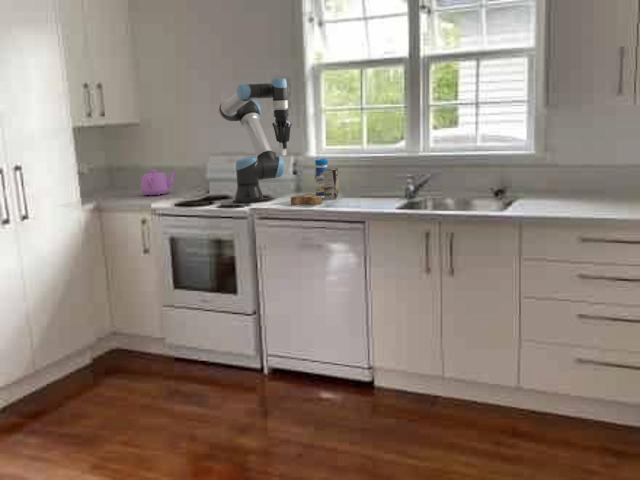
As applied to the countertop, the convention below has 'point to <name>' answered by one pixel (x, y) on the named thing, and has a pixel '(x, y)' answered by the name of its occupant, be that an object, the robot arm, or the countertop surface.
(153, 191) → the teapot
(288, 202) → the slate board
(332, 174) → the coffee box
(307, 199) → the walnut t block
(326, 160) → the beverage bottle
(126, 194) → the countertop surface
